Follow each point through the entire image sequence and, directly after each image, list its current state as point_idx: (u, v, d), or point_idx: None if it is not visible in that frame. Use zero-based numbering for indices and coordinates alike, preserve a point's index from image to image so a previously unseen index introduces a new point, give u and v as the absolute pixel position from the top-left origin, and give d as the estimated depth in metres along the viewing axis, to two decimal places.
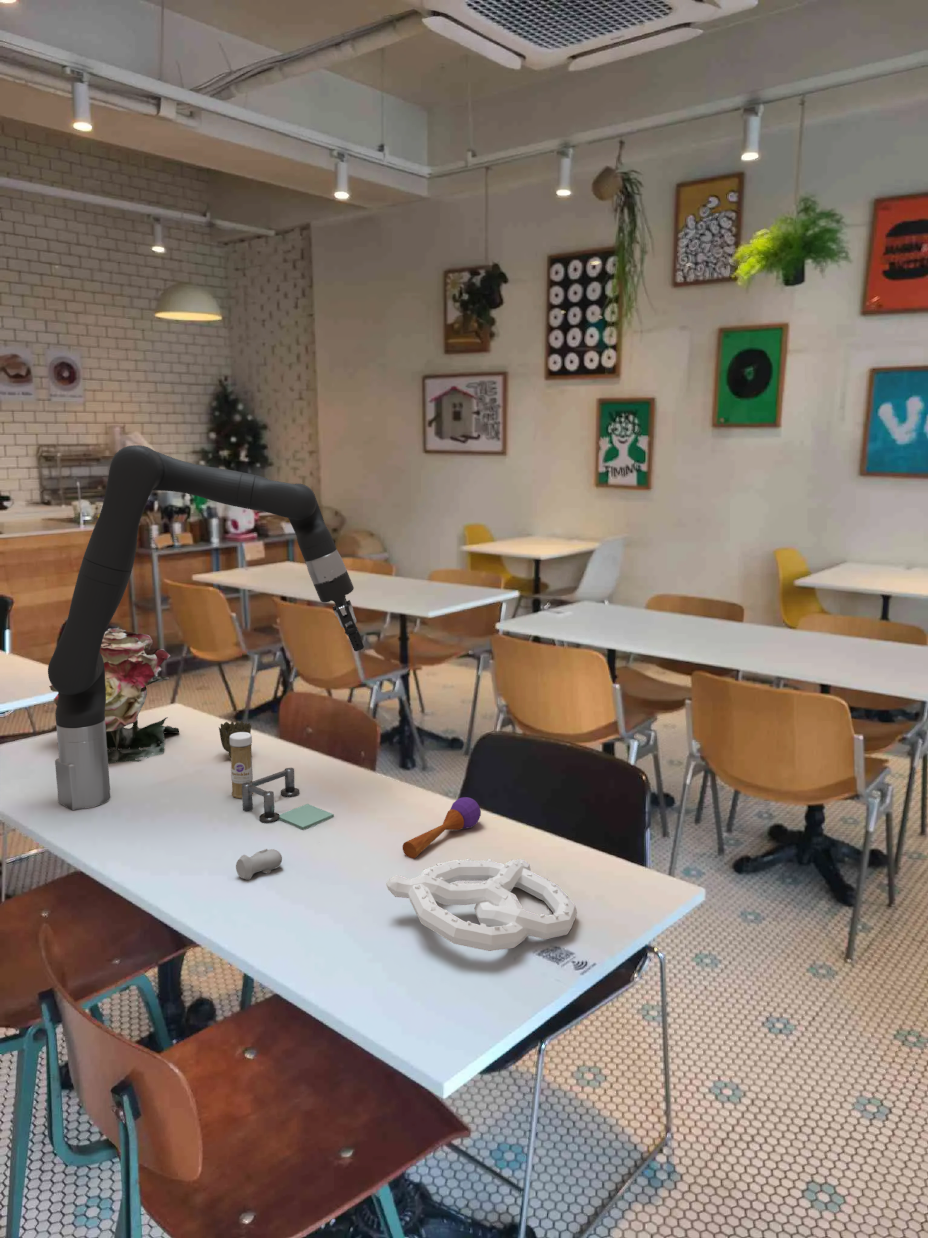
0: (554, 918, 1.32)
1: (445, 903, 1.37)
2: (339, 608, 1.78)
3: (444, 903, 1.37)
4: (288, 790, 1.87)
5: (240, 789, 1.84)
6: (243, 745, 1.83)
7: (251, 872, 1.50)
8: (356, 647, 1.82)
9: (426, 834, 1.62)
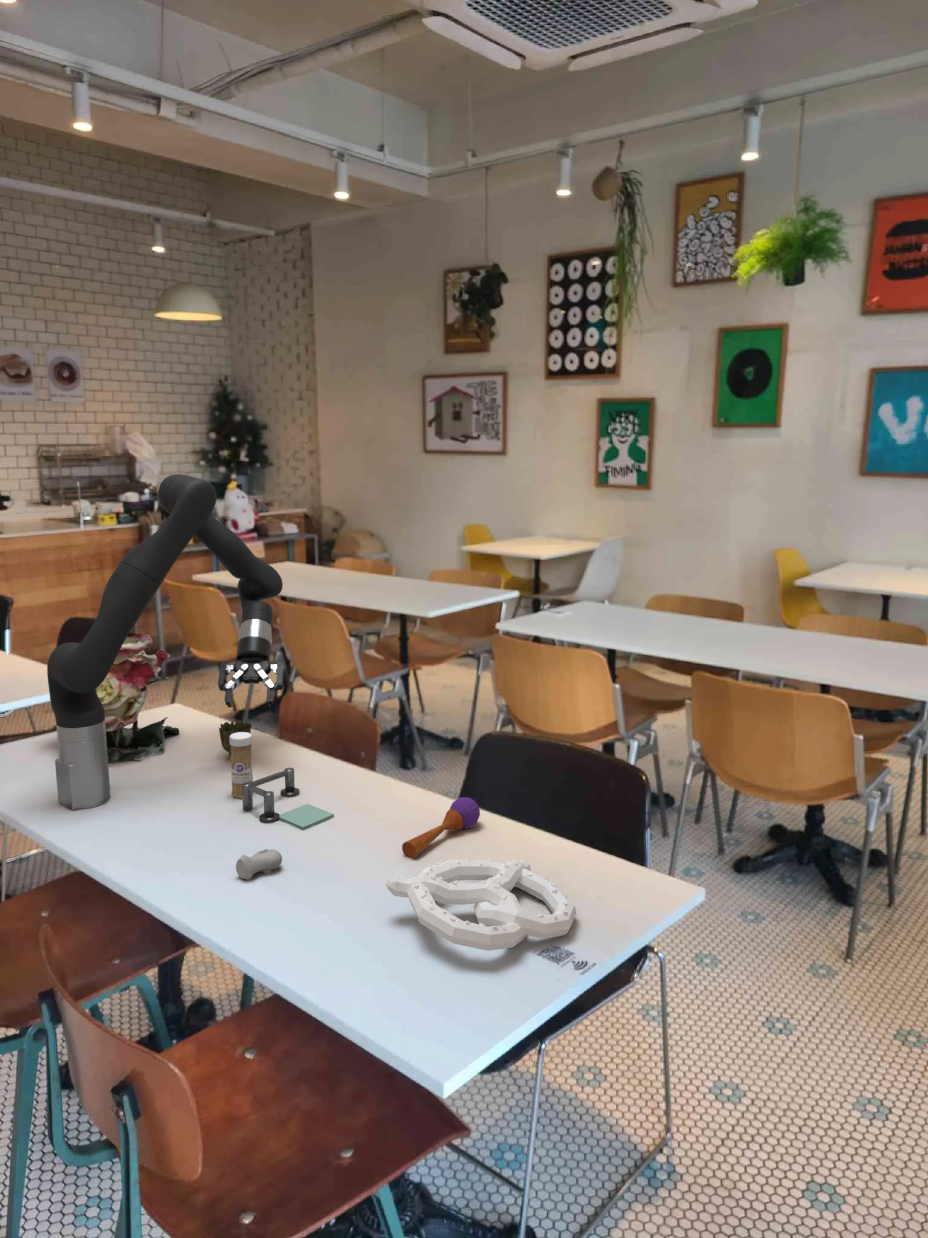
0: (553, 918, 1.32)
1: (444, 902, 1.38)
2: None
3: (443, 902, 1.37)
4: (288, 790, 1.87)
5: (240, 789, 1.84)
6: (243, 745, 1.83)
7: (251, 872, 1.50)
8: (272, 700, 1.95)
9: (425, 834, 1.62)
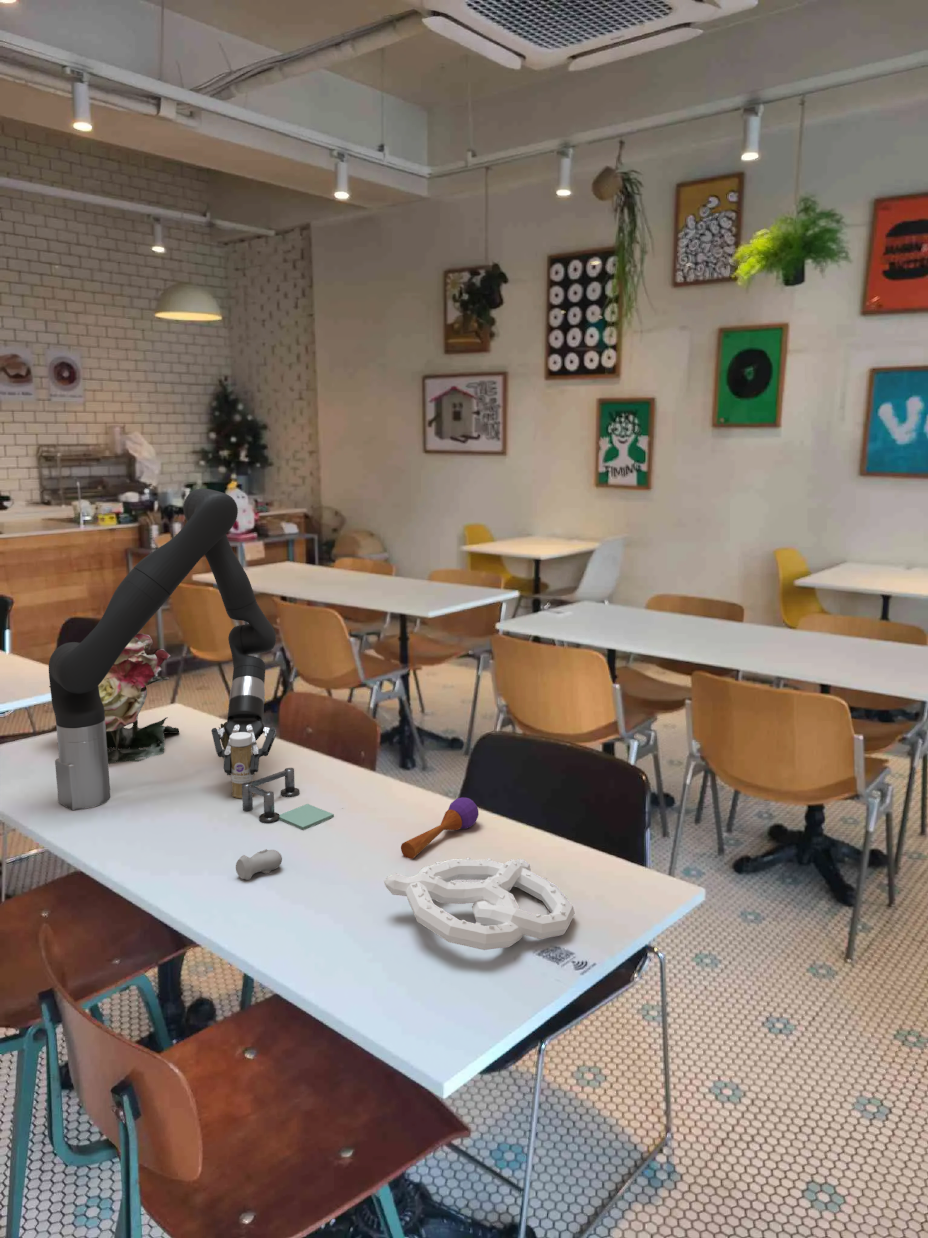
0: (551, 918, 1.32)
1: (442, 901, 1.38)
2: (275, 730, 1.89)
3: (441, 901, 1.38)
4: (288, 790, 1.87)
5: (240, 789, 1.84)
6: (243, 745, 1.83)
7: (251, 872, 1.50)
8: (257, 768, 1.84)
9: (424, 834, 1.62)
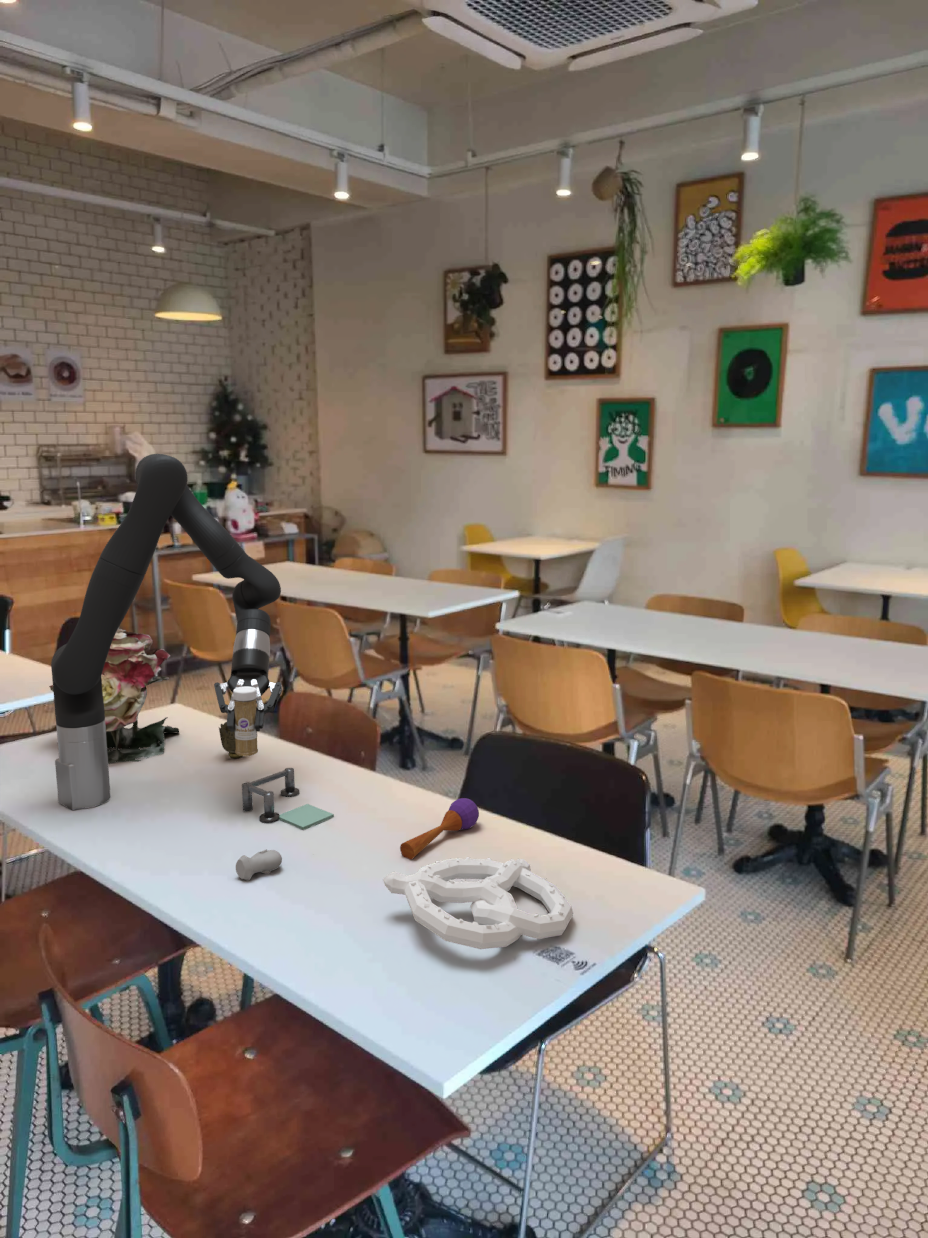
0: (548, 919, 1.32)
1: (441, 900, 1.38)
2: (281, 685, 1.80)
3: (440, 900, 1.38)
4: (288, 790, 1.87)
5: (244, 746, 1.74)
6: (247, 699, 1.73)
7: (250, 873, 1.50)
8: (262, 724, 1.74)
9: (423, 835, 1.62)
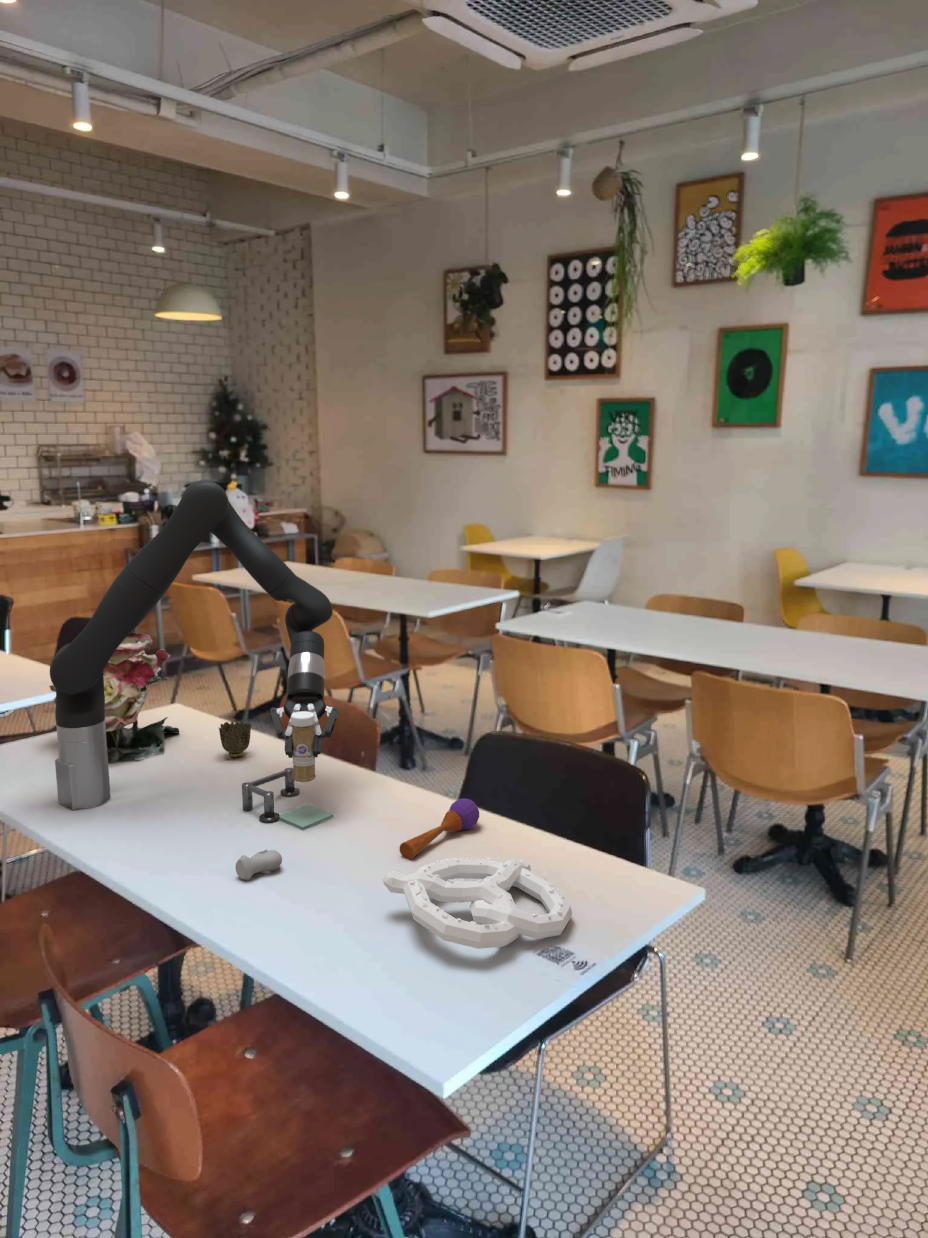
0: (547, 919, 1.32)
1: (440, 900, 1.38)
2: (337, 709, 1.77)
3: (439, 900, 1.38)
4: (288, 790, 1.87)
5: (302, 772, 1.72)
6: (306, 725, 1.70)
7: (250, 873, 1.50)
8: (320, 750, 1.72)
9: (423, 835, 1.62)
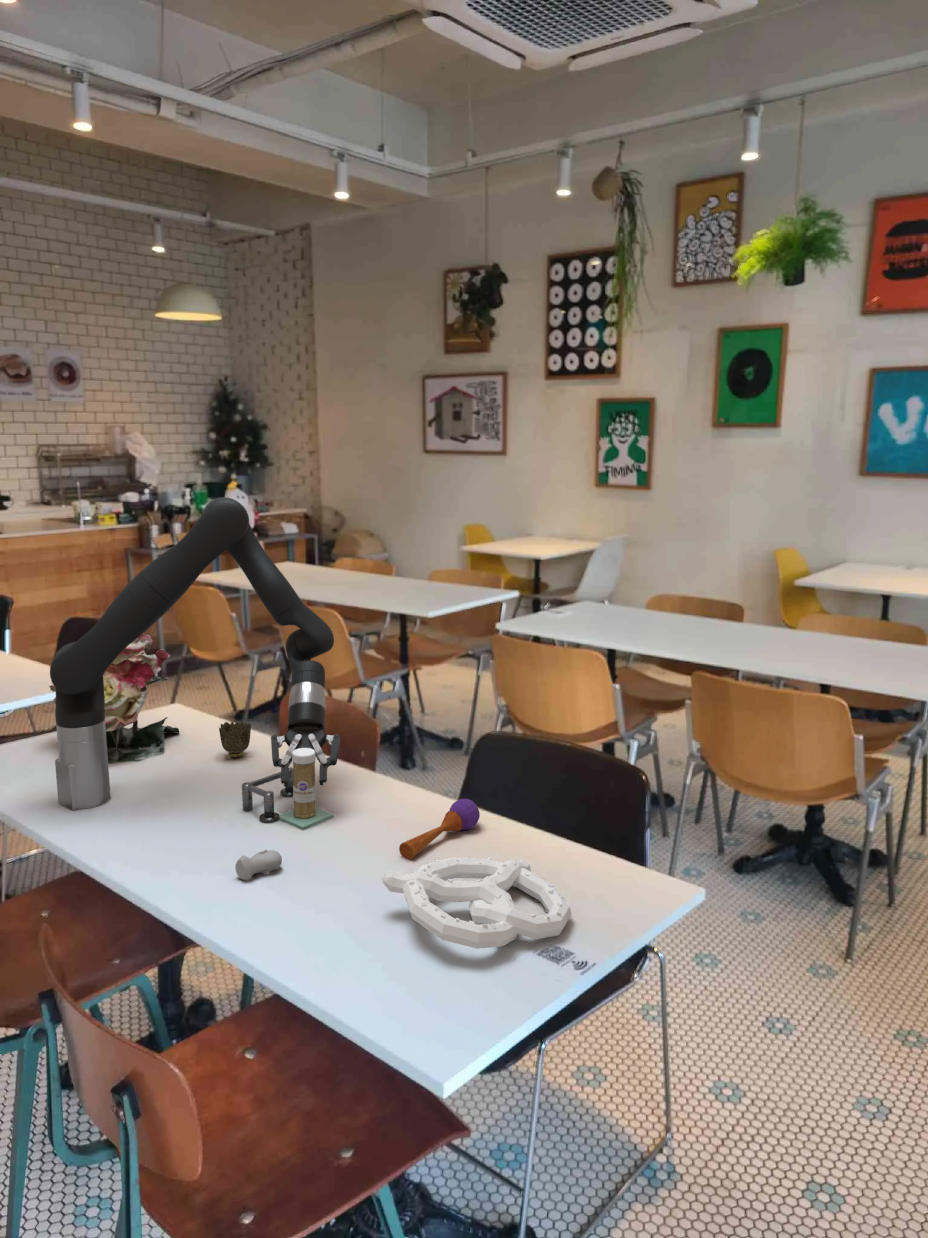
0: (546, 919, 1.32)
1: (439, 899, 1.38)
2: None
3: (438, 899, 1.38)
4: (288, 790, 1.87)
5: (302, 809, 1.73)
6: (307, 763, 1.71)
7: (250, 873, 1.50)
8: (326, 778, 1.73)
9: (423, 835, 1.62)
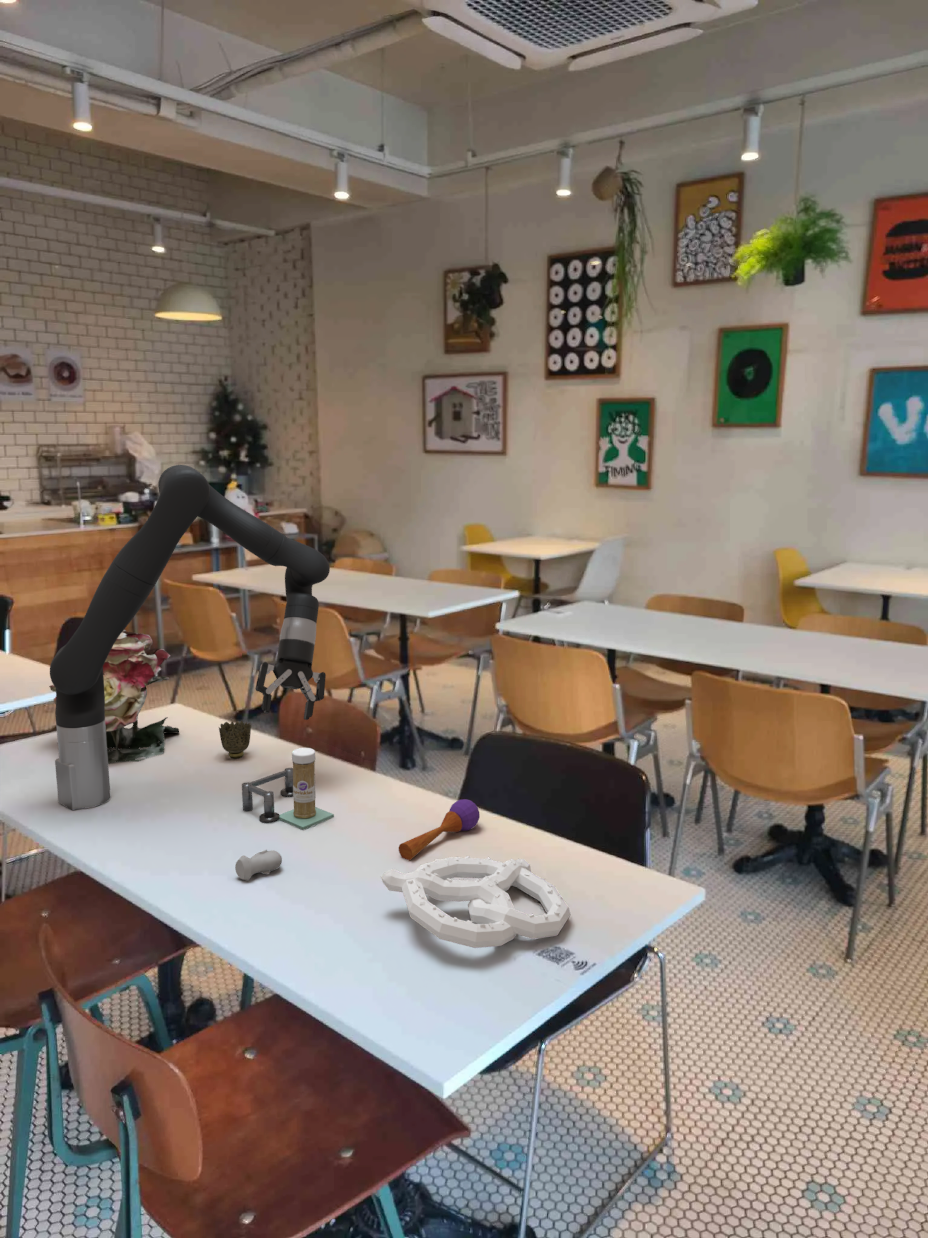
0: (544, 919, 1.32)
1: (438, 899, 1.39)
2: None
3: (437, 899, 1.39)
4: (288, 790, 1.87)
5: (302, 809, 1.73)
6: (307, 762, 1.72)
7: (250, 873, 1.50)
8: None
9: (422, 836, 1.62)
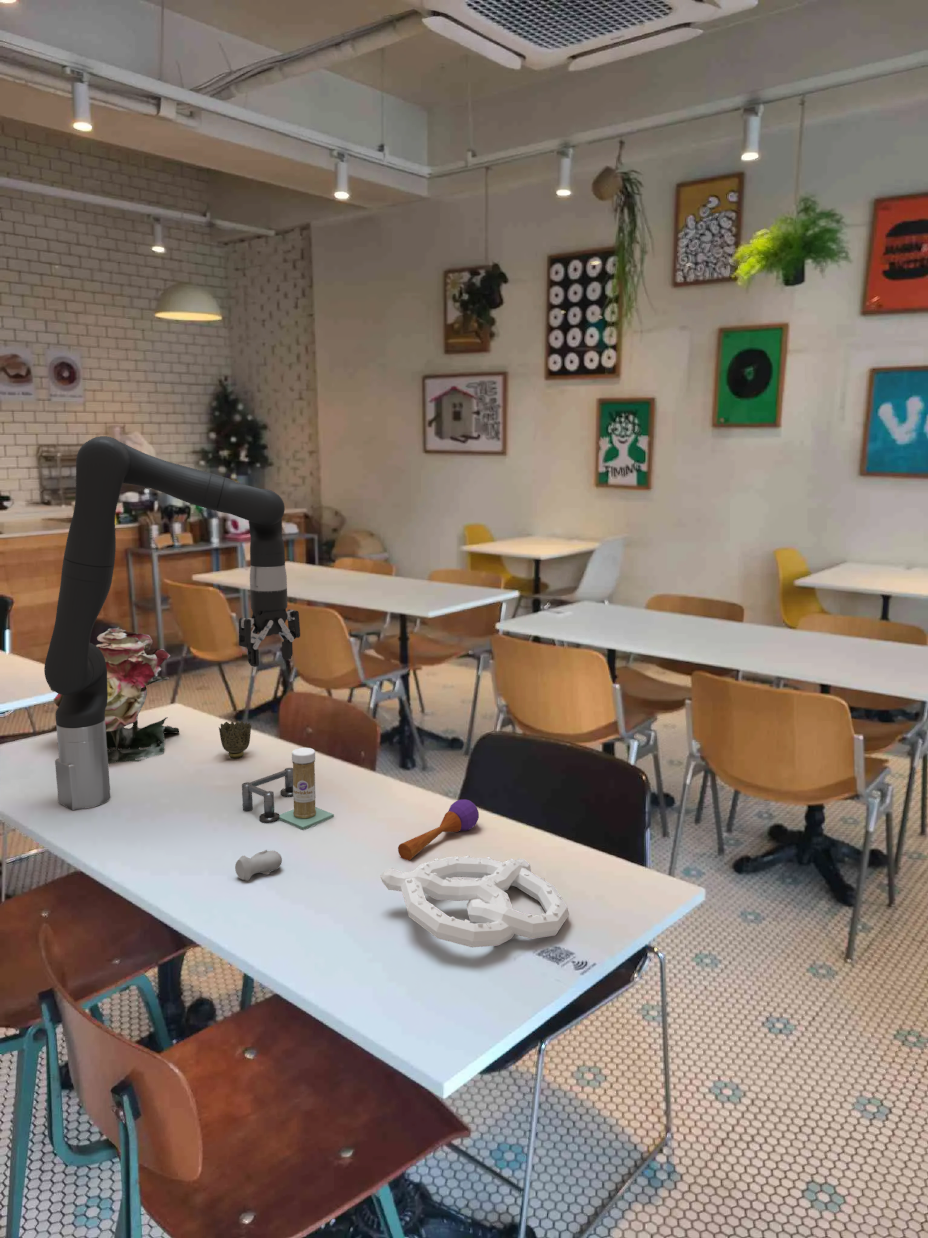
0: (542, 919, 1.32)
1: (437, 898, 1.39)
2: None
3: (436, 898, 1.39)
4: (288, 790, 1.87)
5: (302, 808, 1.73)
6: (307, 762, 1.72)
7: (250, 873, 1.50)
8: None
9: (422, 836, 1.61)
